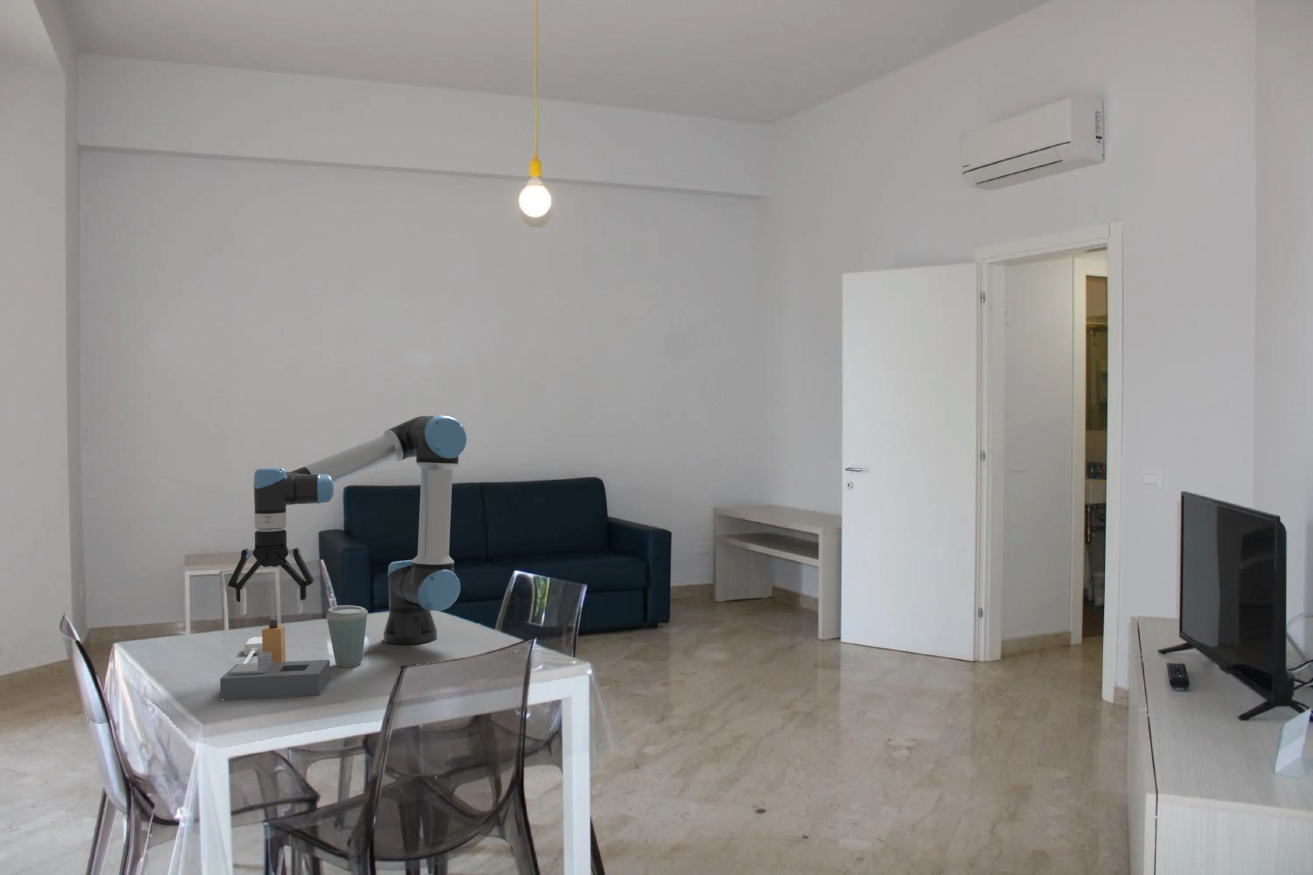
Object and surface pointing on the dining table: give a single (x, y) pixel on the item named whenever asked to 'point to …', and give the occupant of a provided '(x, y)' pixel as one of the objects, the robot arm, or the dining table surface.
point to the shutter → (255, 665)
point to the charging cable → (252, 648)
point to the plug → (274, 640)
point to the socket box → (278, 681)
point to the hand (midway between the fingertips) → (271, 613)
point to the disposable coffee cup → (347, 633)
